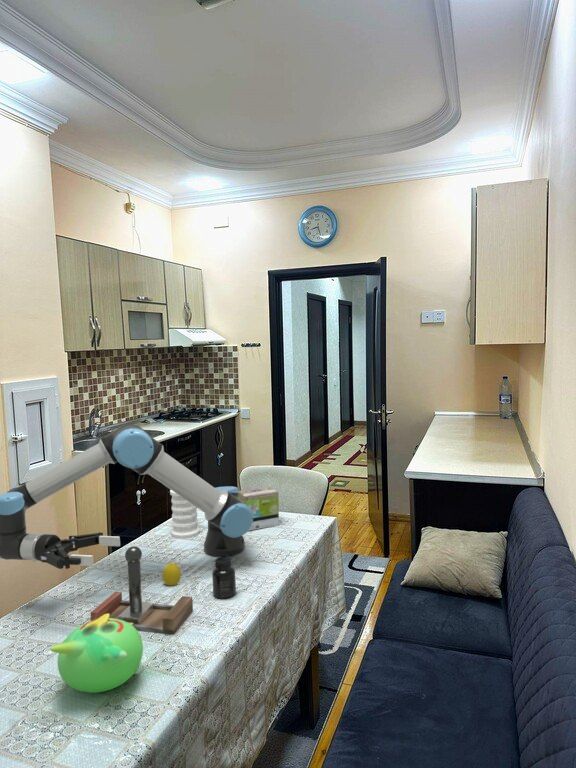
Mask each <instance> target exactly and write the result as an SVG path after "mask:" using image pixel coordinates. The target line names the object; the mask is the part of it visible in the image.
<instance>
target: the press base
mask: <svg viewBox="0 0 576 768" xmlns="http://www.w3.org/2000/svg"><path fill="white" fill-rule="evenodd" d="M122 594H123V593H122V591H114V592H113V593H112V594H110V595H109V596H108V597H107V598H106V599H104V600H103V601H102V602H101V603H100V604H99V605H98V606H96V608H94V609H93V610H92V611H90V621H93V620H96V619H98V618H100V617H101V616H103V615H104V614H107V613H109V614H110V616H109V618H114V619H118V616H119V615H120V614H121V613H122V612H123V611H124V610H125V609H126V608H128V607H129V606H130V601H129V600H123V595H122ZM142 603H152V604H153V611H152V612H151V614H150V615H149V616H148V617H147V618H146V619H145V620H144V621H143V622H142V623H141V624H140V625H138V624H133V623H130V622H127V623H129V624H131V625H132V626H133V627H134V628H135V629H136V630H137V631H138V632H146V633H154V634H155V633H157V634H164V635H172V636H174V635H175V634H176V633H177V632H178V630H179V629H180V628H181V626H182V625H183V624H184V623H185V622H186V620H187V619H188V618H189V617H190V615H191V614H192V613H193V611H194V608H193V607H194V606H193V605H194V604H193V603H194V601H193V597H192V596H185V595H184V596H183V595H182V596H181V597H180V598H179V600H178V601H177V602H175V604H173V605H172V604H163V603H162V604H161V603H154V602H151V601H143V600H142Z"/></svg>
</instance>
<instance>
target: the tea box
mask: <svg viewBox="0 0 576 768" xmlns="http://www.w3.org/2000/svg"><path fill="white" fill-rule="evenodd" d="M238 492H239V499H240V500H241V501H242V502H243V503H244V504H246V505H247V506H248V507H249V508H250V510H251V512H252V515H253V522H252V525H251V527H250V529H249V530H248V532H251V531H254V530H259V529H265V528H272V527H278V526H279V521H280V520H279V519H280V518H279V515H280V512H279V491H277V490H275V489H273V488H272V487H270V486H264V487H263V486H262V487H258V488H250V489H245V490H238ZM277 525H278V526H277Z"/></svg>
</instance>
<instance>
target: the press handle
mask: <svg viewBox="0 0 576 768" xmlns="http://www.w3.org/2000/svg"><path fill="white" fill-rule="evenodd" d="M142 556H143V553H142V549H141V548H140V547H138V546H136V545H135V546H134V545H133V546H130V547H128V548H127V549H126V550H125V553H124V558H125V560H126V562H127V575H128V576H127V579H128V596H129V597H128V598H129V600H128V601H130V606H129V607H128V608H126V609H125V610H124V611H123V612H122V613H121V614H120V615H119V616H118V619H119V620H123V621H125V622H130V623H133V624H138V625H140V624H141V623H142V622H143V621H144V620H145V619H146V618H147V617H148V616H149V615H150V614H151V612H152V611H153V604H152V603H142V601H143V599H142V595H143V594H142V580H141V579H142V578H141V577H142V576H141V559H142Z"/></svg>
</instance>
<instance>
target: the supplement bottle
mask: <svg viewBox="0 0 576 768" xmlns="http://www.w3.org/2000/svg"><path fill="white" fill-rule="evenodd" d="M214 566H215V568H213V570H212V572H211V573H212V574H211V575H212V576H211V577H212V596H213V597H214V599H216V600H220V601H222V600H230V599H232V598H234V597H235V596H237V583H236V570H235V568H234V566H233V565H232V558H231V557H230V556H221V557H220V556H219V557H217V558H216V559H215V560H214Z"/></svg>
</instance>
